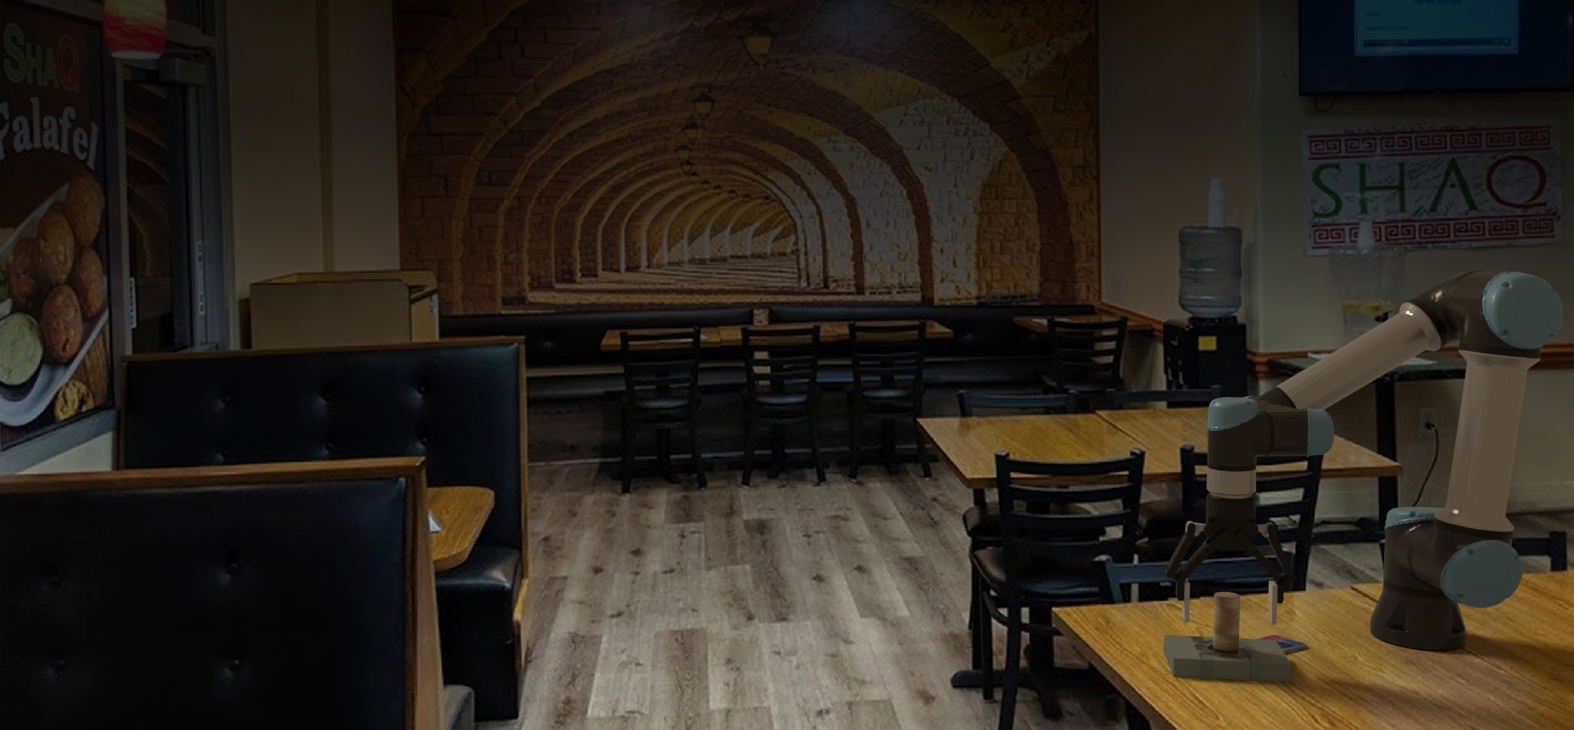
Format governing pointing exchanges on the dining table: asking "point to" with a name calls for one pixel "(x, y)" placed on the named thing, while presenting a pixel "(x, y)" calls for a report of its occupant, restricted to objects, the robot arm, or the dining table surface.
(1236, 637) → the peg
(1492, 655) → the dining table surface
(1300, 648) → the smartphone
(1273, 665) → the board
